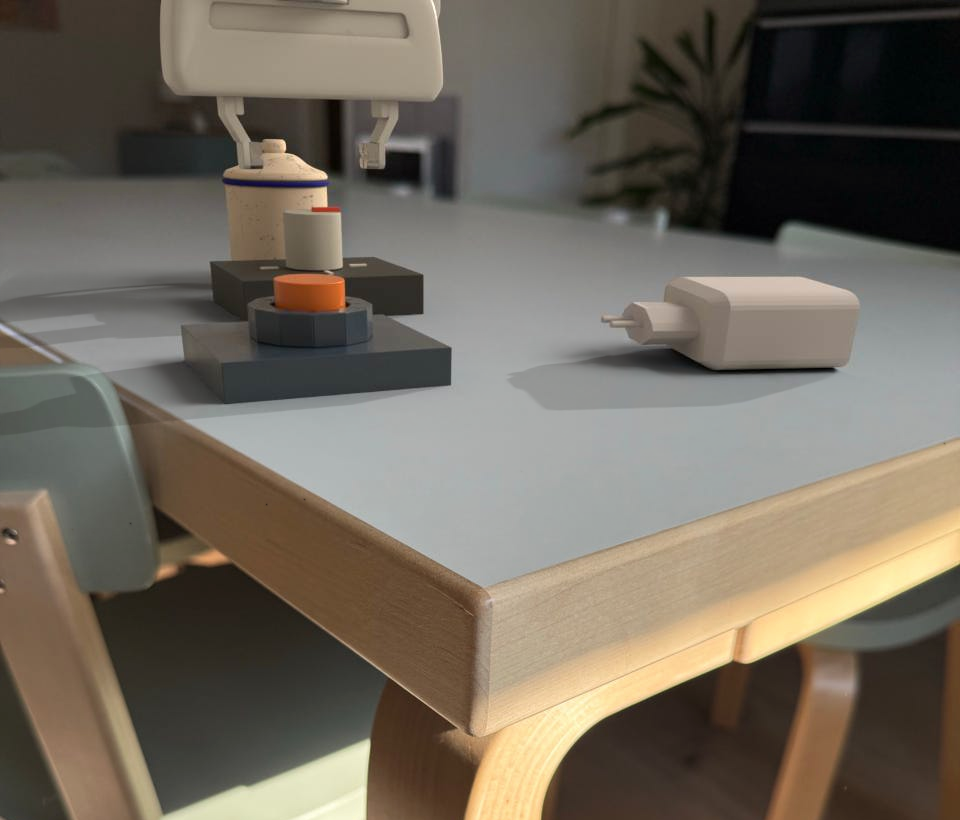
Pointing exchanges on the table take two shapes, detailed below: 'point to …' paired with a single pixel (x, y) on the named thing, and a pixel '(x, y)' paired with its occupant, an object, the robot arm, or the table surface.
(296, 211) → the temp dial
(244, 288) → the kettle base
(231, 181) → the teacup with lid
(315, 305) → the power button
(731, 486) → the table surface
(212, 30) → the robot arm
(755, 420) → the table surface
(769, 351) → the charger
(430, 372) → the switch block
